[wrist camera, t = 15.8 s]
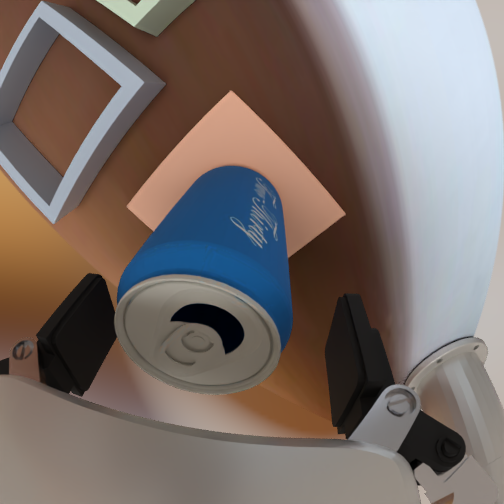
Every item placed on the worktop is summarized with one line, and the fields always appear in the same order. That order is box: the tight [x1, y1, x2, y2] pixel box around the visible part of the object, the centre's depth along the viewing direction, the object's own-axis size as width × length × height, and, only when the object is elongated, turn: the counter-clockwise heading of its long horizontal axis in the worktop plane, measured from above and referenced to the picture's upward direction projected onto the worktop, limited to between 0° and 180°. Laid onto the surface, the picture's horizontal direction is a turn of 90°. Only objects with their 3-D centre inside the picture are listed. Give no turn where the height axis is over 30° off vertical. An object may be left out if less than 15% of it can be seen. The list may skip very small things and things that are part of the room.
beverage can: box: [114, 166, 293, 395], centre depth 14 cm, size 6×6×12 cm
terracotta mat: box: [127, 90, 345, 258], centre depth 19 cm, size 11×11×1 cm
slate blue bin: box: [0, 1, 166, 224], centre depth 14 cm, size 12×12×4 cm
